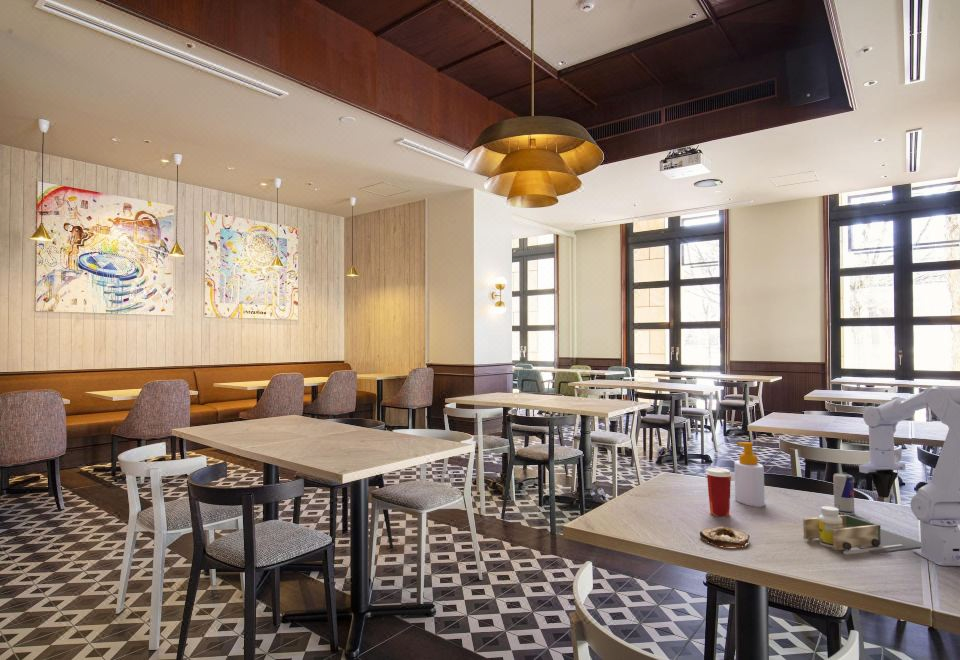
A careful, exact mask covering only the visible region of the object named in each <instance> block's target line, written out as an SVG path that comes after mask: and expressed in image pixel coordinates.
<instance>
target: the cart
mask: <svg viewBox="0 0 960 660" xmlns="http://www.w3.org/2000/svg"><path fill="white" fill-rule="evenodd" d="M838 516H839V517H840V518H841V519H842V525H843V528H840V529H833V548H832V549H833V550H834V551H837V550H845V551H850V550H852V549H853V548H855V549H856V548H858V547H864V546H872V545H874V546H877V547H878V546H879V545H880V544H881V536H880V529H881V525H880V524H877V523H874V522H871V521H869V520H868V521H867V520H864V519H861V518H858V517H856V516H853V515H846V514H845V515H843V514H839V515H838ZM802 522H803V523H802V524H803V535H804V537H805V538H804V537H803V538H804V539H806V538H807V539H813V538H812V537H816V538H820V537H819V516H818V517H807V518H803V519H802Z"/></svg>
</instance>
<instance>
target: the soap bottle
mask: <svg viewBox="0 0 960 660" xmlns="http://www.w3.org/2000/svg"><path fill="white" fill-rule="evenodd" d="M736 445H737V446H740V447H741V446H743V452H742V453H741V454H740V455H739V456H738V457H739V458H738V459H737V460H735V461H733V463H734V464H733V465H734V469H733V470H734V498H735V500H736V501H737V502H738V503H740V504H742V503H743V505H745V506H748V505H749V506H748V507H753V506H754V507H755V508H759V507H764V506H765V504H766V503H765V501H766V500H765V468H764V465H763V464H761V463H759V461H758V459H759V458H758V456H757V455H756V454H754V453H753V442H750V441H749V442H748V441H744V442H742V441H741V442H740V441H739V442H737V443H736Z"/></svg>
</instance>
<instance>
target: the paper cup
mask: <svg viewBox="0 0 960 660" xmlns="http://www.w3.org/2000/svg"><path fill="white" fill-rule="evenodd" d="M705 475H706V477H707V478H706V479H707V492H708V493H707V494H708V501H709V502H708V503H709V504H708V505H709V511H710V512H709V513H710V515H712V514H713V515H712V516H715V515H717V516H716V517H721V516H726V517H729V516H730V510H731V509H730V508H731V507H730V506H731V480H732V479H731V478H732V473H731V470H730V469H727V468H723V467H722V468H721V467H710V468H708V469H707V470H706V471H705Z"/></svg>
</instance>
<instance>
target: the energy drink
mask: <svg viewBox="0 0 960 660" xmlns="http://www.w3.org/2000/svg"><path fill="white" fill-rule="evenodd" d="M832 477H833V479H832V480H833V503H834V504H833V507H835V508H838V509H839V513H840V514H839V515H843V514H844V515H845V514H846V515H849V516H853V515H855V489H854V488H855V487H854V478H853V475H851V474H848V473H841V472H840V473H839V472H837V473H834V474H833V476H832Z"/></svg>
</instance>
